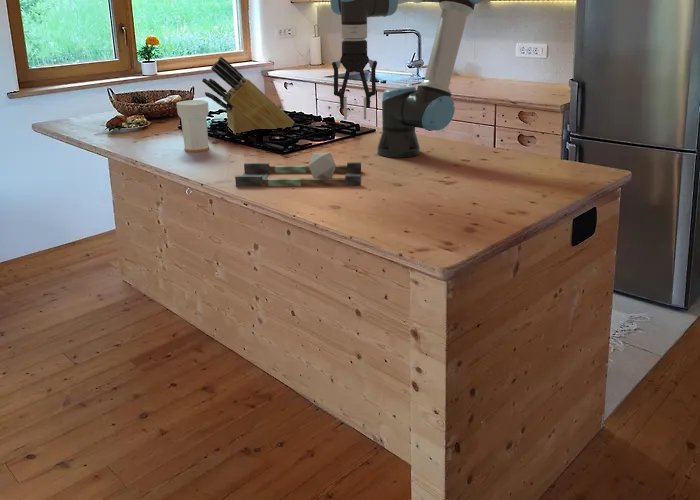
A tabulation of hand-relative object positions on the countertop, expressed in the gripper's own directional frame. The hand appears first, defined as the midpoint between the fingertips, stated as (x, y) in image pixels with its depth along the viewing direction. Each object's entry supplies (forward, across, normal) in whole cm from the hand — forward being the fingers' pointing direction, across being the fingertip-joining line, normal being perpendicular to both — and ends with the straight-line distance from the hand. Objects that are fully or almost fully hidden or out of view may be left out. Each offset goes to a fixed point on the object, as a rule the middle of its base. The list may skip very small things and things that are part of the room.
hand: (355, 118), depth 212 cm
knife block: (+19, -46, +74) cm, 89 cm away
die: (+19, -10, 0) cm, 22 cm away
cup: (+19, -60, +42) cm, 76 cm away
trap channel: (+19, -18, 0) cm, 26 cm away
